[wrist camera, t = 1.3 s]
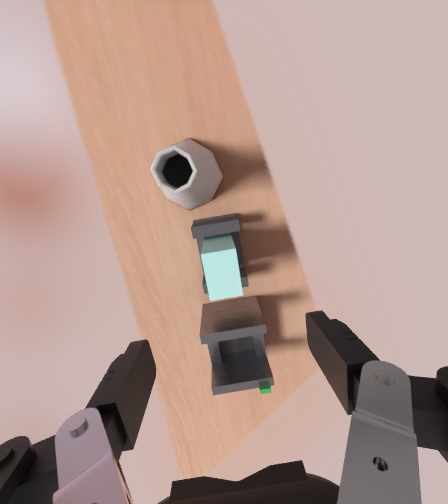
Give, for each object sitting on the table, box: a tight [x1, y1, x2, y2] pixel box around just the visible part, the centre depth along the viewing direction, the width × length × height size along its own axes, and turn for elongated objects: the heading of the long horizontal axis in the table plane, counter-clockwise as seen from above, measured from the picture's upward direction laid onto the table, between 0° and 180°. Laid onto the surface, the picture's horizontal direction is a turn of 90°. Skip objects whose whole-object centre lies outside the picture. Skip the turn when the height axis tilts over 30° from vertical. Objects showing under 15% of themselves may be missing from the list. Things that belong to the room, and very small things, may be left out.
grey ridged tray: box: [191, 214, 248, 294], centre depth 27 cm, size 8×5×4 cm, turn 9°
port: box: [200, 296, 274, 395], centre depth 28 cm, size 8×7×7 cm
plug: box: [201, 233, 243, 301], centre depth 24 cm, size 4×3×8 cm
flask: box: [150, 138, 223, 211], centre depth 21 cm, size 7×7×10 cm
